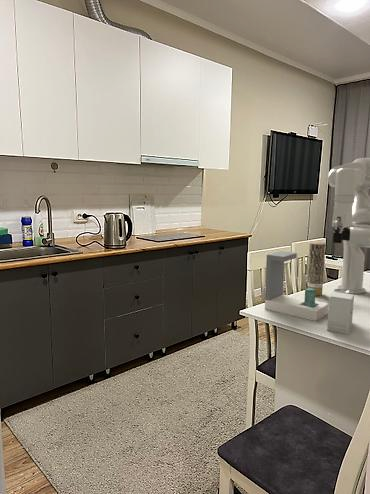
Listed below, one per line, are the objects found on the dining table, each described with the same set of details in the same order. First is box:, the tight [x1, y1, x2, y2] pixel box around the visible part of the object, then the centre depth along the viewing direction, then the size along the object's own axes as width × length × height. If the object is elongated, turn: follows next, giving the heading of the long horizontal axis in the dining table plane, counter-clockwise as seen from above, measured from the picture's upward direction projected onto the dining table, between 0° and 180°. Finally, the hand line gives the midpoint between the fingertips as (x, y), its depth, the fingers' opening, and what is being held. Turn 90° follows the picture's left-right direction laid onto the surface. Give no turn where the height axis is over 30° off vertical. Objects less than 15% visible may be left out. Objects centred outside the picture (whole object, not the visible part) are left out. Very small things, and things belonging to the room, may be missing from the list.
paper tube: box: [306, 240, 326, 297], centre depth 176 cm, size 7×7×25 cm
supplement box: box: [326, 291, 355, 335], centre depth 132 cm, size 7×7×13 cm
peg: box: [304, 288, 316, 308], centre depth 149 cm, size 4×4×10 cm
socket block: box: [264, 250, 329, 322], centre depth 151 cm, size 12×22×23 cm, turn 49°
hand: (341, 241), depth 153 cm, fingers open, 9 cm apart
